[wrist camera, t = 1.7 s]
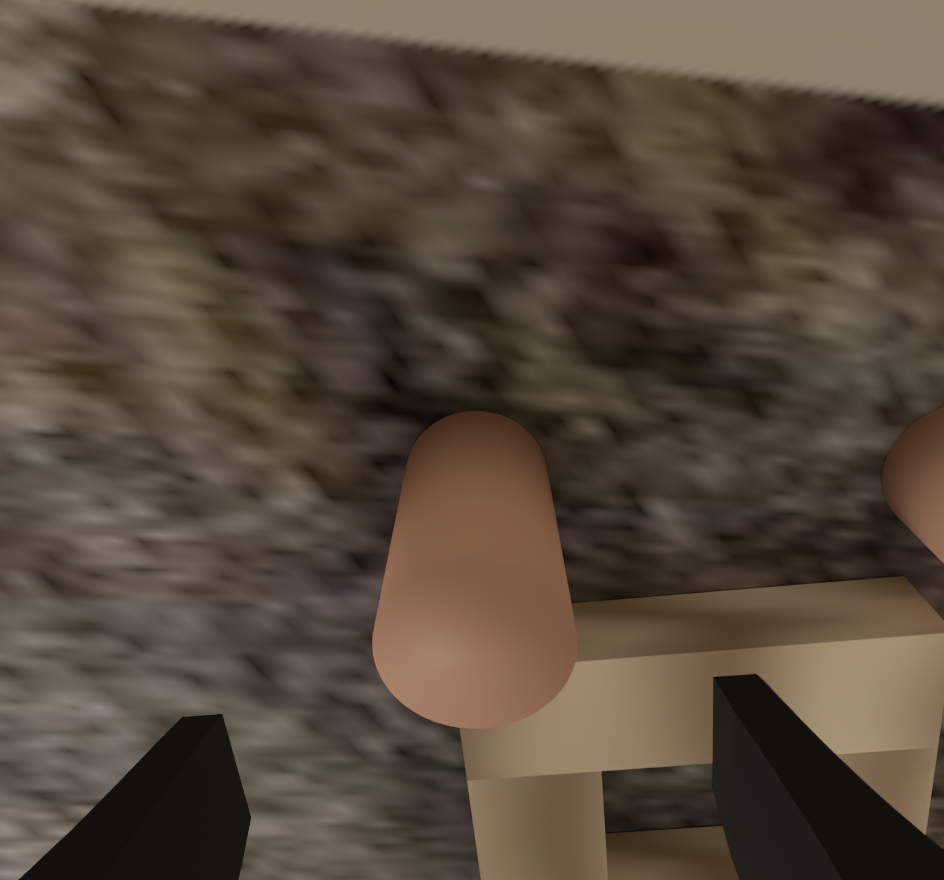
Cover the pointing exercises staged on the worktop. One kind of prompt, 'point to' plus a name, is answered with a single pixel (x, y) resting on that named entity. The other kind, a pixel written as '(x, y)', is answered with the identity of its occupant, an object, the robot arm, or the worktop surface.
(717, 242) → the worktop surface
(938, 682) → the collar block
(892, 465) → the short stub
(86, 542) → the worktop surface
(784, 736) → the robot arm
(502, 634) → the long pin
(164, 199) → the worktop surface
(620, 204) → the worktop surface
